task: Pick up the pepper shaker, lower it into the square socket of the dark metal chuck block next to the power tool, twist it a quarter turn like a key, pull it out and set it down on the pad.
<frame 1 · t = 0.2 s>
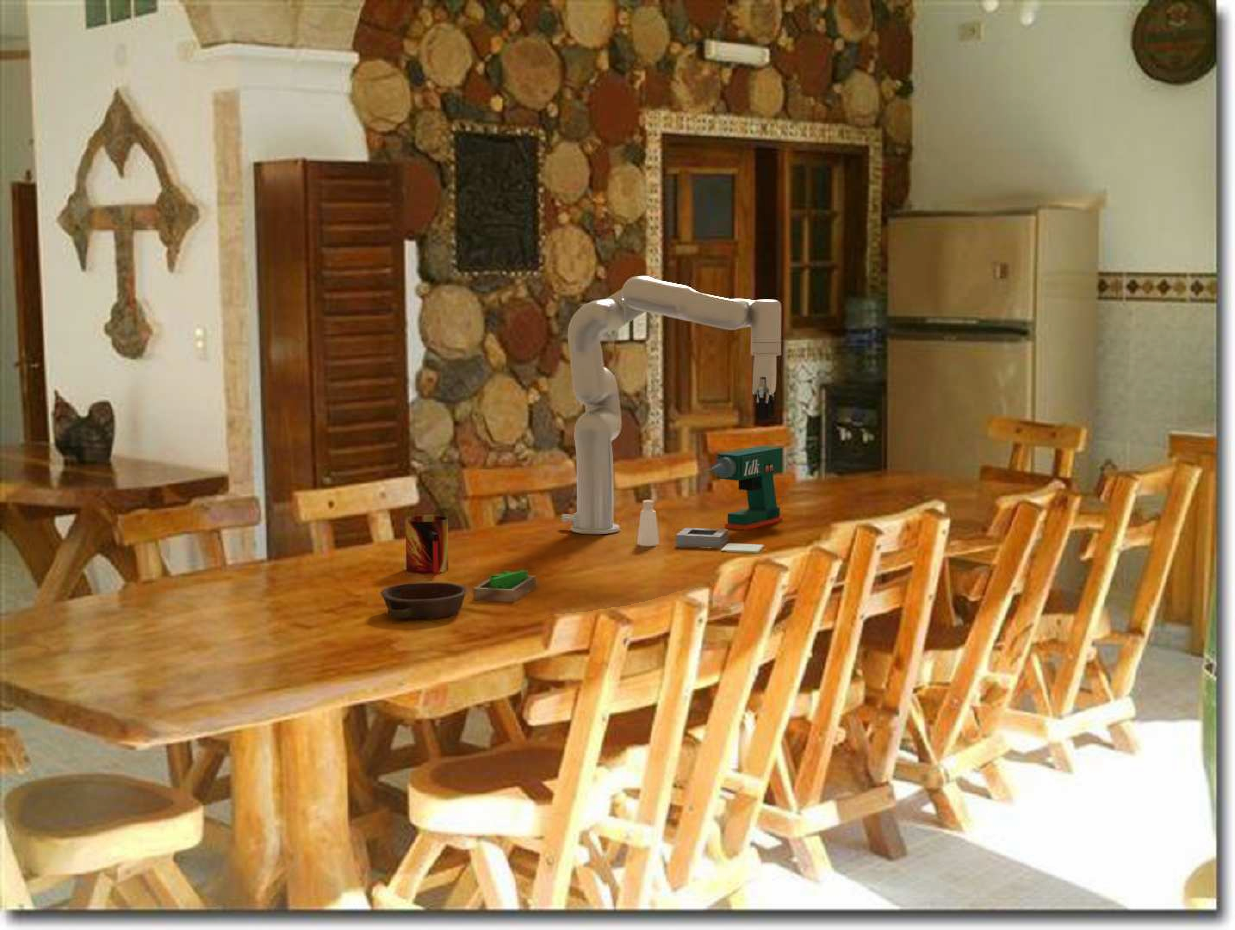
hand: (765, 417, 422), 31 cm above the table, tool pointing down, fingers open, 9 cm apart
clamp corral: (505, 593, 359), on the table
chuck block: (702, 544, 418), on the table
pad: (742, 549, 411), on the table
green bumpy block: (505, 595, 359), on the table
dish: (424, 614, 341), on the table
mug: (433, 572, 384), on the table
power tool: (741, 528, 442), on the table
pepper shaker: (648, 545, 418), on the table
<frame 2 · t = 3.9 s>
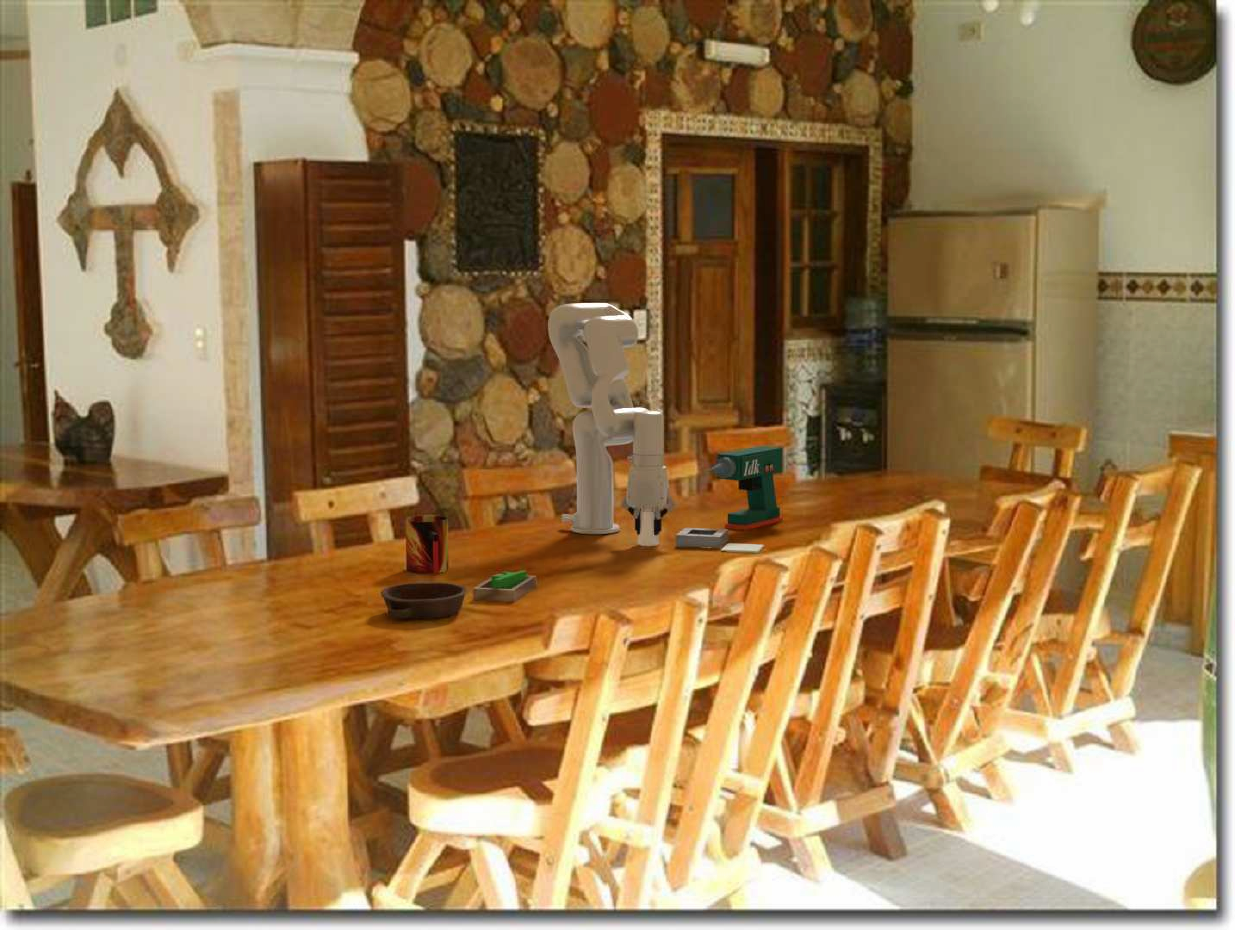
hand: (648, 533, 417), 3 cm above the table, tool pointing down, fingers closed on pepper shaker, 3 cm apart
green bumpy block: (506, 595, 359), on the table, touching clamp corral
pepper shaker: (648, 545, 418), on the table, touching gripper
everything else where it was.
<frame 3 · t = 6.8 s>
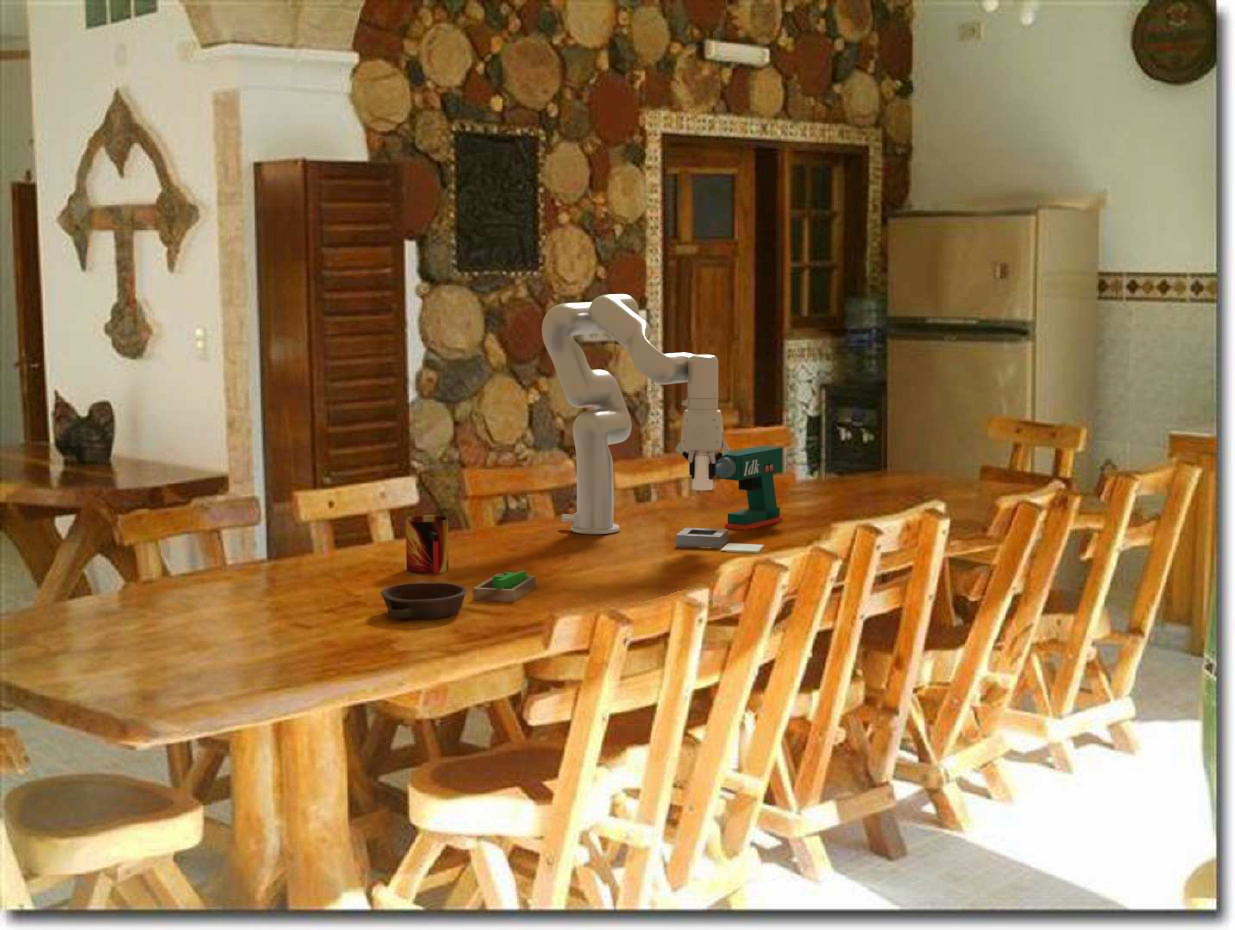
hand: (702, 477, 416), 17 cm above the table, tool pointing down, fingers closed on pepper shaker, 3 cm apart
green bumpy block: (507, 596, 358), on the table
pepper shaker: (702, 489, 416), point 14 cm above the table, touching gripper
everything else where it was.
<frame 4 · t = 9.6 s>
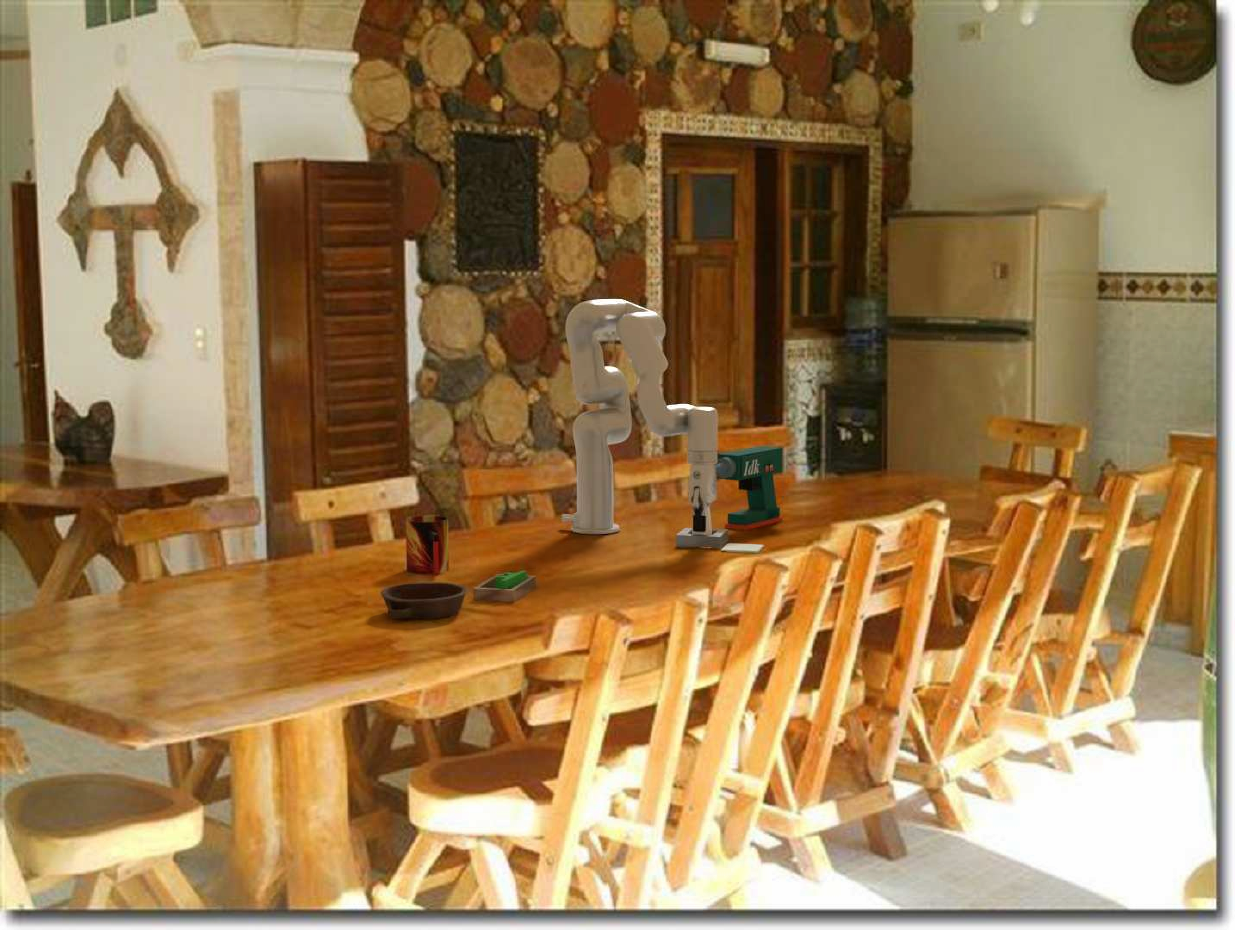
hand: (701, 529, 417), 4 cm above the table, tool pointing down, fingers closed on pepper shaker, 3 cm apart
pepper shaker: (702, 541, 418), point 1 cm above the table, touching gripper
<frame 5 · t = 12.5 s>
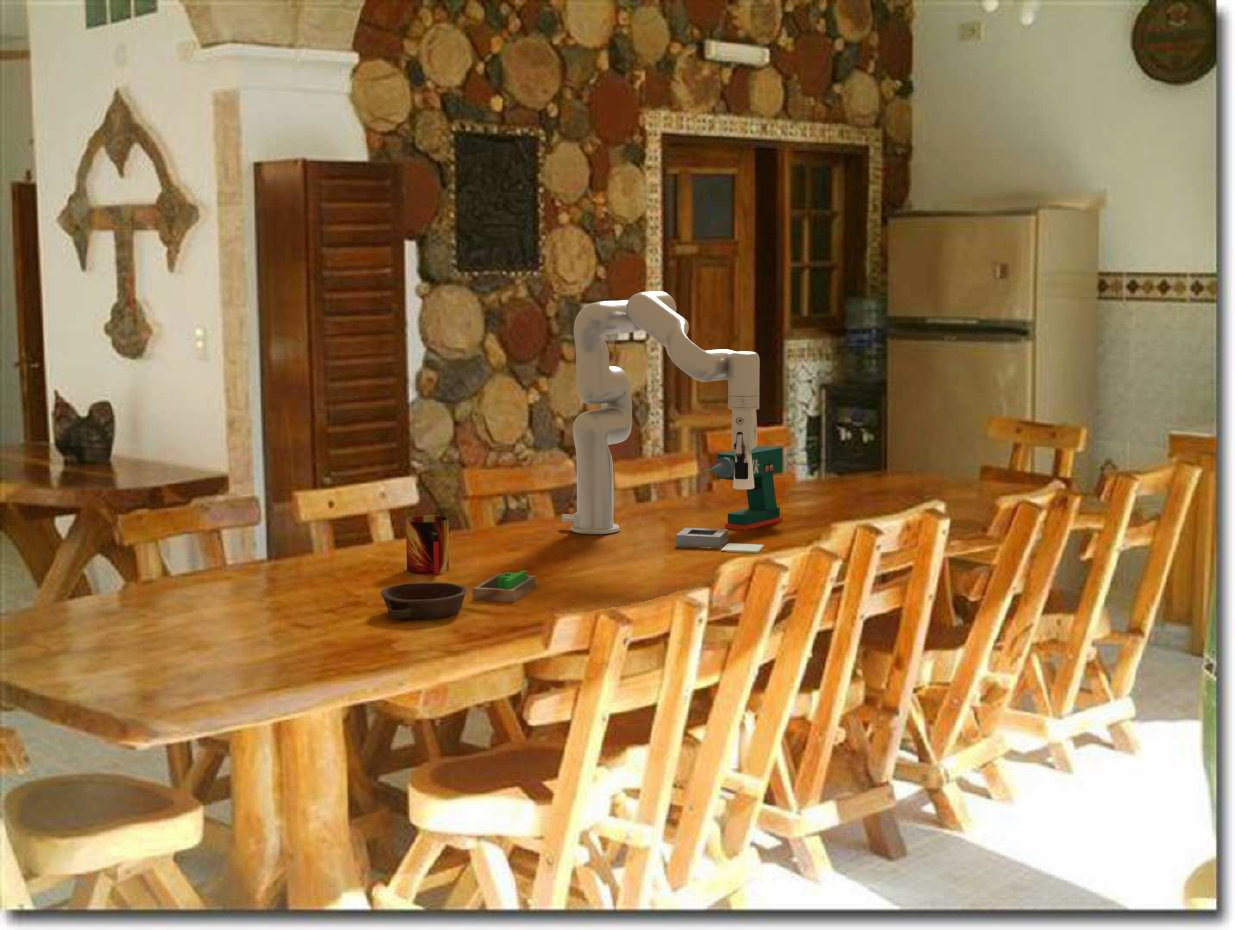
hand: (743, 476, 409), 18 cm above the table, tool pointing down, fingers closed on pepper shaker, 3 cm apart
pepper shaker: (743, 488, 409), point 15 cm above the table, touching gripper
when the fingers open (4 cm above the table, at t = 15.1 s): pepper shaker stays where it is, resting on pad.
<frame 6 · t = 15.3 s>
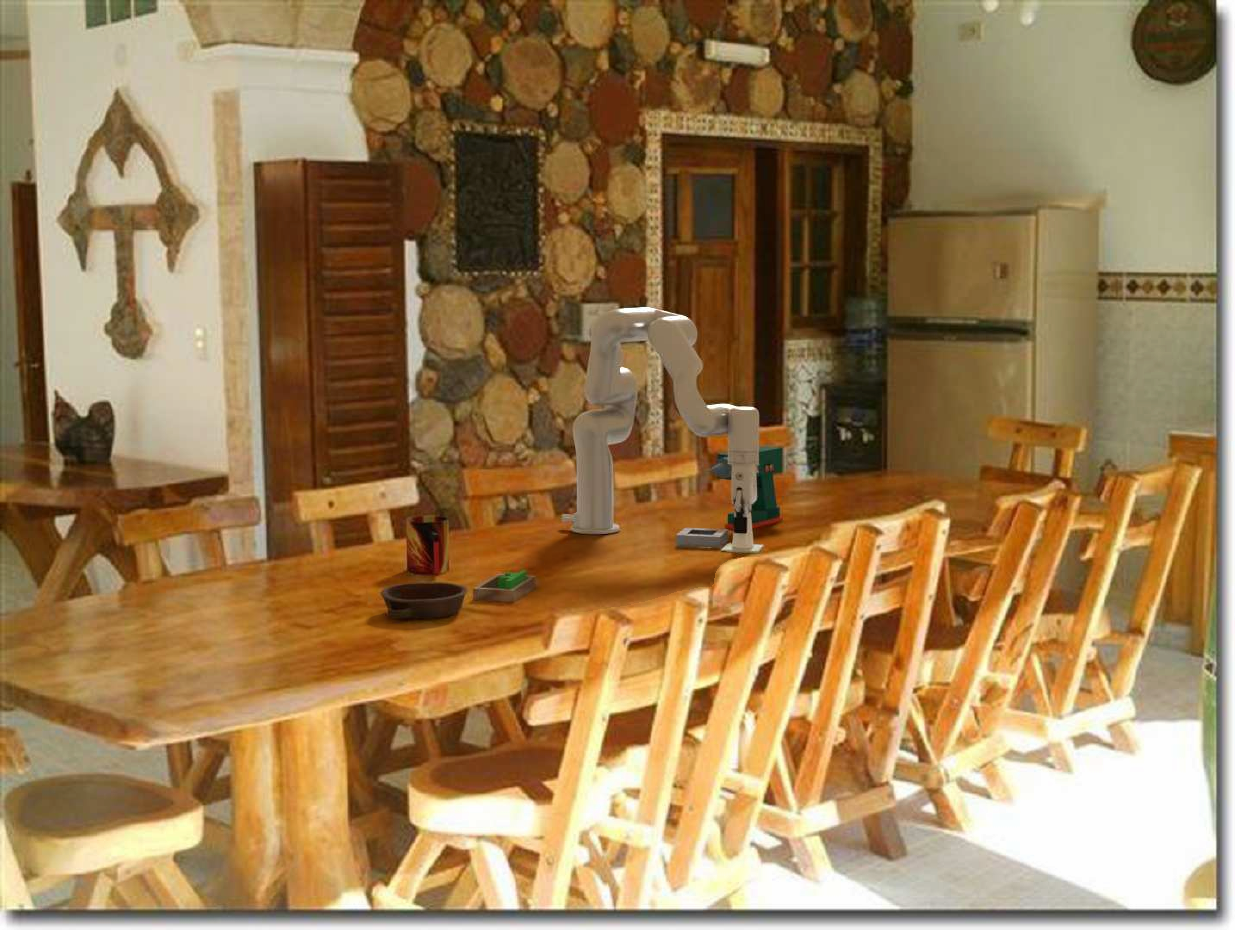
hand: (742, 530, 410), 5 cm above the table, tool pointing down, fingers open, 5 cm apart
pepper shaker: (742, 547, 411), resting on pad
everything else where it was.
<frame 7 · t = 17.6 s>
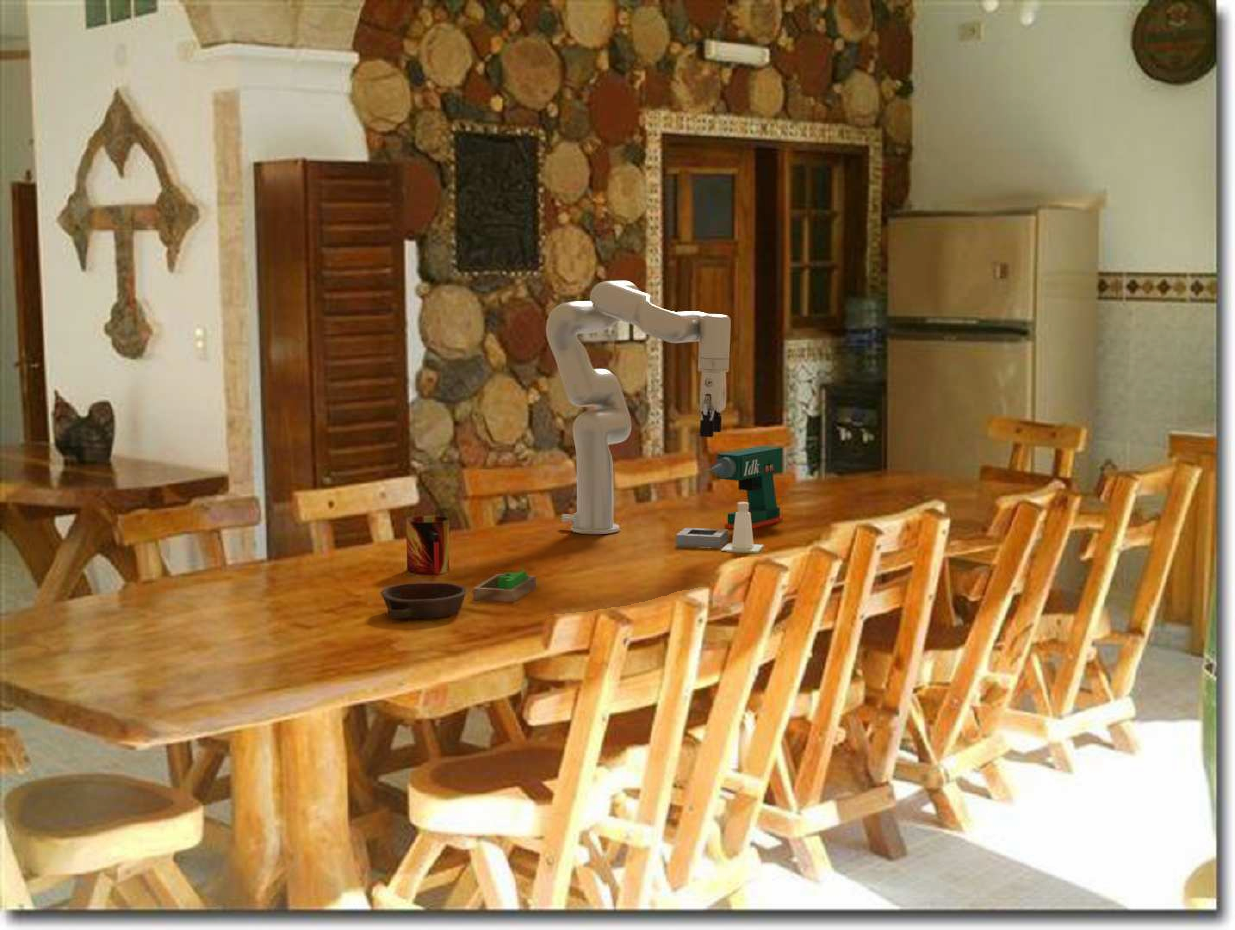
hand: (710, 434, 413), 28 cm above the table, tool pointing down, fingers open, 9 cm apart
green bumpy block: (511, 596, 358), on the table, touching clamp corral
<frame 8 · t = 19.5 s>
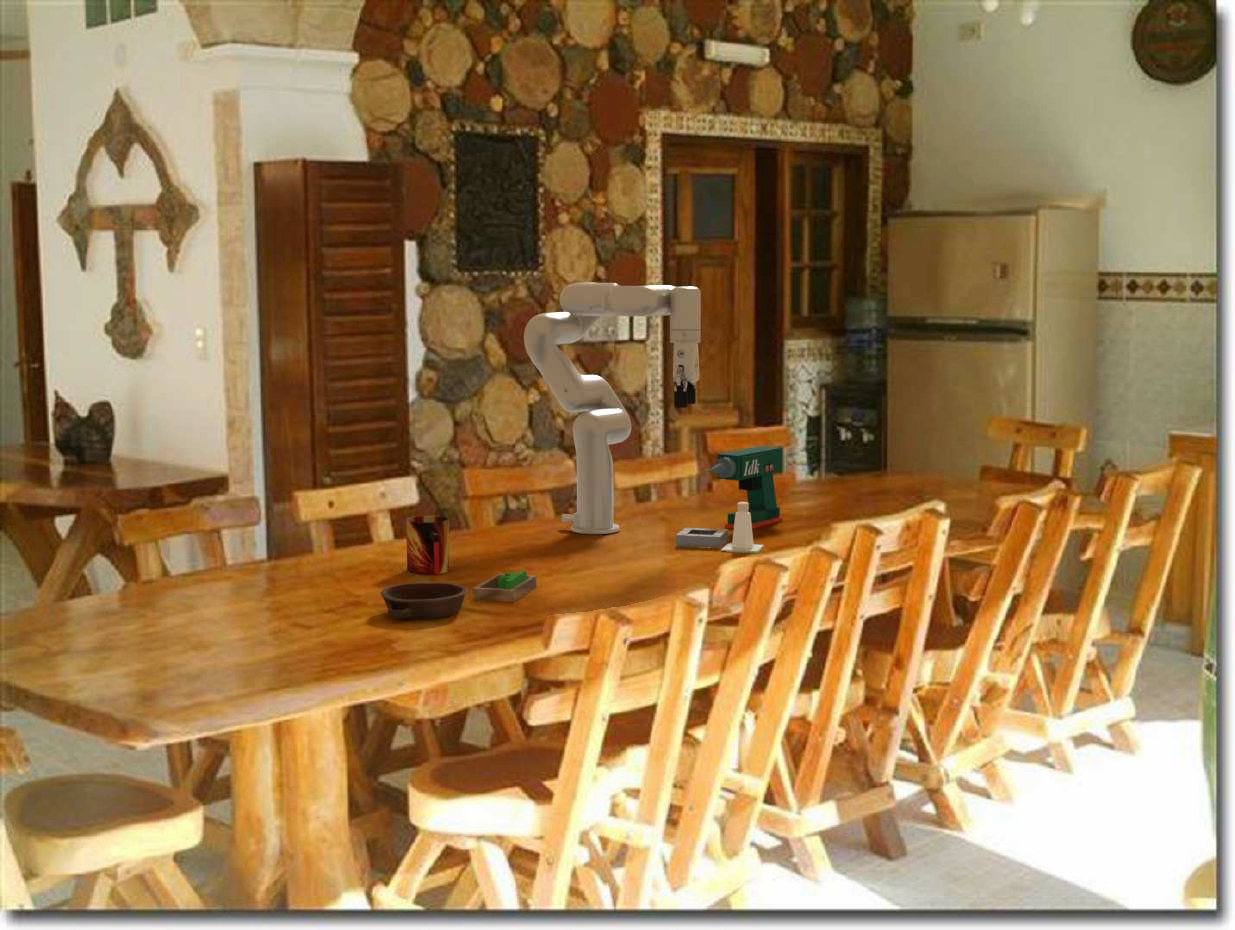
hand: (685, 405, 417), 34 cm above the table, tool pointing down, fingers open, 9 cm apart
green bumpy block: (511, 596, 358), on the table
at the end: pepper shaker inside the target area on the pad (0.2 cm from its centre), point 0.3 cm above the pad's base; pepper shaker tilted 0°; the gripper is holding nothing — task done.
